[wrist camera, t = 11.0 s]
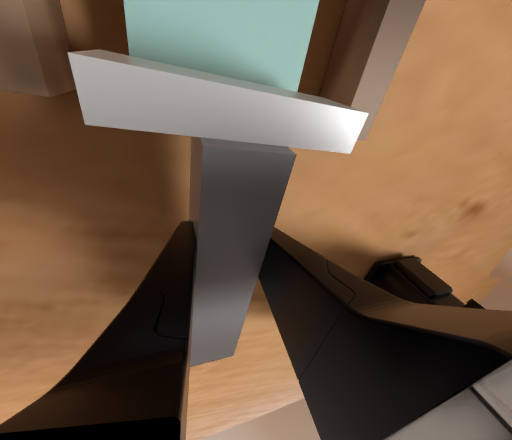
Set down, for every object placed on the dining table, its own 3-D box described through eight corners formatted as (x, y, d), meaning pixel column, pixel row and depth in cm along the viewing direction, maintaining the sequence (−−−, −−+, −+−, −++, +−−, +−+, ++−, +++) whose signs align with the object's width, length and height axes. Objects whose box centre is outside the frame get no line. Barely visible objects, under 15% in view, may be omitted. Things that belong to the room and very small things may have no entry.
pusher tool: (255, 303, 16) (269, 346, 13) (146, 322, 13) (142, 379, 11) (324, 97, 8) (383, 118, 6) (99, 49, 6) (54, 53, 3)
